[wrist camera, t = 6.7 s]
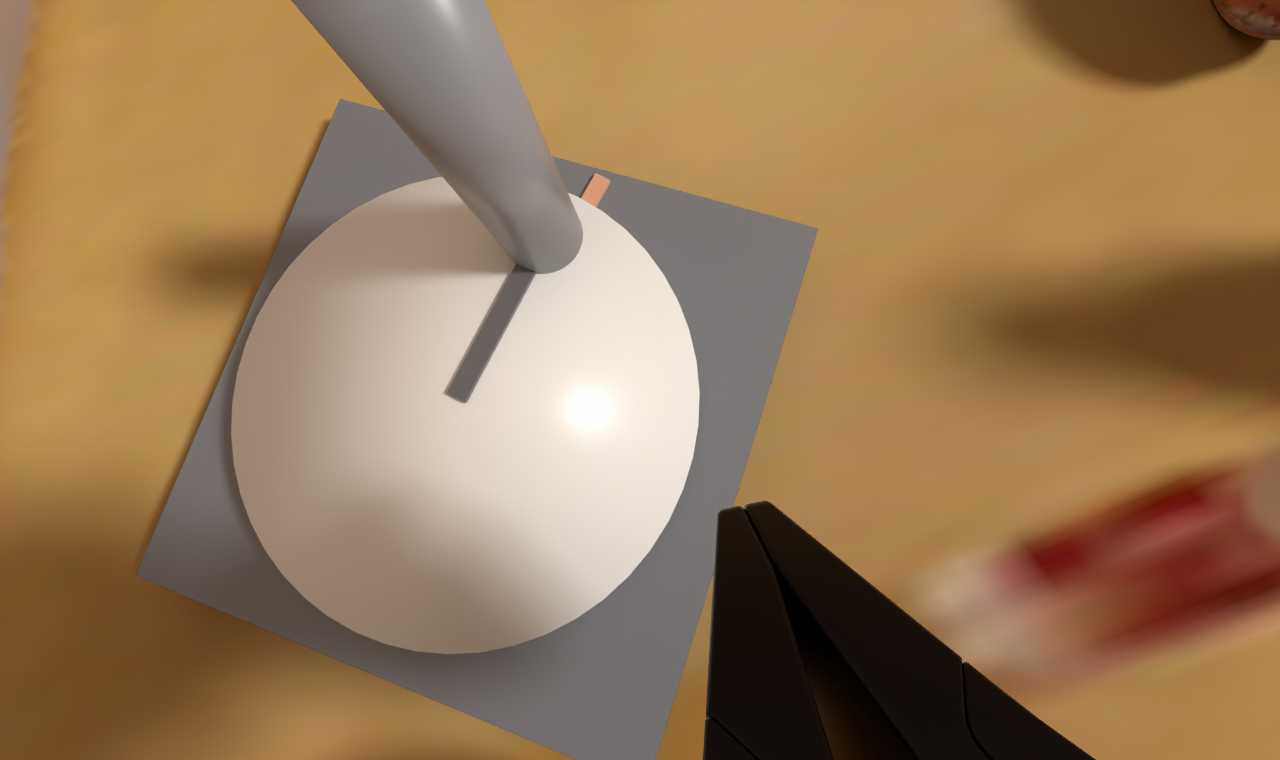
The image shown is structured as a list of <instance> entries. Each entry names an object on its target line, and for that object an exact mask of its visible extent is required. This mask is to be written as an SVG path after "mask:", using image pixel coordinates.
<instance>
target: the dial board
mask: <svg viewBox="0 0 1280 760" xmlns="http://www.w3.org/2000/svg"><path fill="white" fill-rule="evenodd" d="M552 157H553V156H552ZM553 160H554V162H555V164H556V167H557V169H558V171H559V173H560V176H561V178H562V180H563V183H564V185H565V187H566V189H567V192H568V193H570V194H573V195H575V196H577V197H579V198H581V199H583V200H584V201H586V202H588V203H589V204H591V205H593V206H595V207H596V208H598V209H600V210H601V211H603V212H604V213H605V214H607V215H608V216H609V217H611V218H612V219H613V220H614V221H616V222H617V223H618V224H620V225H621V226H622V227H623V228H625V229H626V230H627V231H628V232H629V233H630V234H631V235H632V236H633V237H634V238H635V239H636V241H637V242H638V243H639V244H640V245H641V246H642V247H643V248H644V249H645V250H646V251H647V252H648V254H649V255H650V256H651V258H652V259H653V260H654V262H655V263H656V265H657V266H658V267H659V269H660V270H661V271H662V273H663V274H664V276H665V278H666V279H667V281H668V283H669V285H670V287H671V289H672V290H673V292H674V294H675V296H676V298H677V300H678V302H679V304H680V307H681V309H682V312H683V315H684V317H685V320H686V323H687V325H688V328H689V331H690V335H691V339H692V344H693V348H694V352H695V356H696V361H697V371H698V381H699V392H700V395H699V423H698V431H697V436H696V442H695V448H694V454H693V459H692V462H691V466H690V469H689V472H688V475H687V479H686V482H685V485H684V488H683V491H682V493H681V495H680V498H679V500H678V502H677V504H676V506H675V508H674V511H673V513H672V515H671V517H670V519H669V521H668V523H667V525H666V526H665V528H664V529H663V531H662V533H661V534H660V536H659V537H658V539H657V541H656V542H655V544H654V545H653V547H652V548H651V550H650V551H649V552H648V554H647V555H646V556H645V557H644V558H643V560H642V561H641V562H640V563H639V564H638V566H637V567H636V568H635V569H634V570H633V572H632V573H631V574H630V575H629V576H628V577H627V578H626V579H625V580H624V581H623V582H622V583H621V584H620V585H619V586H618V587H617V588H615V589H614V590H613V591H612V592H611V593H610V594H609V595H608V596H607V597H606V598H605V599H604V600H602V601H601V602H599V603H598V604H596V605H595V606H594V607H592V608H591V609H589V610H588V611H586V612H585V613H584V614H582V615H581V616H579V617H578V618H576V619H575V620H573V621H571V622H569V623H567V624H565V625H563V626H561V627H559V628H557V629H555V630H554V631H552V632H550V633H548V634H546V635H543V636H540V637H537V638H535V639H532V640H529V641H526V642H523V643H520V644H518V645H515V646H510V647H505V648H500V649H495V650H491V651H486V652H479V653H461V654H440V653H428V652H417V651H412V650H408V649H404V648H400V647H395V646H391V645H387V644H384V643H381V642H378V641H376V640H373V639H371V638H368V637H366V636H363V635H361V634H358V633H356V632H354V631H352V630H351V629H349V628H347V627H345V626H344V625H342V624H340V623H338V622H337V621H335V620H333V619H331V618H330V617H328V616H327V615H326V614H324V613H323V612H322V611H321V610H319V609H318V608H317V607H315V606H314V605H313V604H312V603H310V602H309V601H308V600H307V599H305V598H304V597H303V596H302V595H301V594H300V593H299V592H298V591H297V590H296V589H295V587H294V586H293V585H292V584H291V583H290V582H289V581H288V580H287V579H286V578H285V577H284V576H283V575H282V573H281V572H280V571H279V569H278V568H277V566H276V565H275V564H274V562H273V561H272V559H271V558H270V556H269V555H268V554H267V552H266V551H265V549H264V547H263V545H262V544H261V542H260V540H259V538H258V536H257V534H256V532H255V530H254V528H253V526H252V524H251V522H250V520H249V517H248V514H247V511H246V508H245V506H244V503H243V500H242V497H241V495H240V490H239V486H238V481H237V477H236V472H235V468H234V461H233V450H232V438H231V424H232V402H233V396H234V389H235V383H236V377H237V372H238V368H239V365H240V361H241V358H242V354H243V351H244V347H245V344H246V342H247V339H248V337H249V334H250V332H251V330H252V327H253V325H254V322H255V320H256V318H257V316H258V314H259V312H260V310H261V308H262V307H263V305H264V303H265V301H266V300H267V298H268V296H269V294H270V292H271V291H272V289H273V288H274V286H275V285H276V284H277V282H278V281H279V279H280V278H281V277H282V275H283V274H284V273H285V271H286V270H287V268H288V267H289V266H290V265H291V264H292V262H293V261H294V260H295V259H296V258H297V257H298V256H299V255H300V254H301V253H302V252H303V250H304V249H305V248H306V247H307V246H308V245H309V244H310V243H311V242H312V241H313V240H315V239H316V238H317V237H318V236H319V235H320V234H322V233H323V232H324V231H325V230H326V229H327V228H328V227H330V226H331V225H332V224H333V223H335V222H336V221H338V220H339V219H341V218H342V217H344V216H345V215H347V214H348V213H350V212H351V211H353V210H354V209H355V208H357V207H359V206H361V205H363V204H365V203H367V202H369V201H371V200H373V199H374V198H376V197H378V196H380V195H382V194H385V193H387V192H390V191H393V190H395V189H398V188H401V187H403V186H406V185H409V184H412V183H416V182H420V181H424V180H428V179H432V178H437V177H442V176H441V175H440V173H439V172H438V171H437V170H436V169H435V168H434V166H433V165H432V164H431V163H430V162H429V161H428V159H427V158H426V157H425V156H424V155H423V154H422V152H421V151H420V150H419V149H418V148H417V147H416V145H415V144H414V143H413V142H412V141H411V140H410V138H409V137H408V136H407V135H406V134H405V133H404V131H403V130H402V129H401V128H400V127H399V126H398V124H397V123H396V122H395V121H394V120H393V119H392V117H391V116H390V115H389V114H388V113H387V112H386V111H383V110H379V109H376V108H372V107H368V106H365V105H361V104H357V103H354V102H350V101H346V100H343V99H340V100H339V102H338V105H337V107H336V109H335V112H334V114H333V116H332V119H331V121H330V123H329V126H328V128H327V130H326V133H325V135H324V137H323V140H322V142H321V144H320V147H319V149H318V151H317V154H316V156H315V158H314V161H313V163H312V165H311V168H310V170H309V172H308V175H307V177H306V179H305V182H304V184H303V186H302V189H301V191H300V193H299V196H298V198H297V200H296V203H295V205H294V207H293V210H292V212H291V214H290V217H289V219H288V221H287V224H286V226H285V228H284V231H283V233H282V235H281V238H280V240H279V242H278V245H277V247H276V249H275V252H274V254H273V256H272V259H271V261H270V263H269V266H268V268H267V270H266V273H265V275H264V277H263V280H262V282H261V284H260V287H259V289H258V291H257V293H256V296H255V298H254V300H253V303H252V305H251V307H250V310H249V312H248V314H247V317H246V319H245V321H244V324H243V326H242V328H241V331H240V333H239V335H238V338H237V340H236V342H235V345H234V347H233V349H232V352H231V354H230V356H229V359H228V361H227V363H226V366H225V368H224V370H223V373H222V375H221V377H220V380H219V382H218V384H217V387H216V389H215V391H214V394H213V396H212V398H211V401H210V403H209V405H208V408H207V410H206V412H205V415H204V417H203V419H202V422H201V424H200V426H199V429H198V431H197V433H196V436H195V438H194V440H193V443H192V445H191V447H190V450H189V452H188V454H187V457H186V459H185V461H184V464H183V466H182V468H181V471H180V473H179V475H178V478H177V480H176V482H175V485H174V487H173V489H172V492H171V494H170V496H169V499H168V501H167V503H166V506H165V508H164V510H163V513H162V515H161V517H160V520H159V522H158V524H157V527H156V529H155V531H154V534H153V536H152V538H151V541H150V543H149V545H148V548H147V550H146V552H145V554H144V557H143V559H142V561H141V564H140V566H139V568H138V571H137V573H136V575H135V576H138V577H140V578H142V579H145V580H147V581H150V582H152V583H154V584H157V585H159V586H162V587H164V588H166V589H169V590H171V591H174V592H176V593H178V594H181V595H183V596H186V597H188V598H190V599H193V600H195V601H198V602H200V603H202V604H205V605H207V606H209V607H212V608H214V609H217V610H219V611H221V612H224V613H226V614H229V615H231V616H233V617H236V618H238V619H241V620H243V621H245V622H248V623H250V624H253V625H255V626H257V627H260V628H262V629H265V630H267V631H269V632H272V633H274V634H277V635H279V636H281V637H284V638H286V639H289V640H291V641H293V642H296V643H298V644H301V645H303V646H305V647H308V648H310V649H313V650H315V651H317V652H320V653H322V654H325V655H327V656H329V657H332V658H334V659H337V660H339V661H341V662H344V663H346V664H348V665H351V666H353V667H356V668H358V669H360V670H363V671H365V672H368V673H370V674H372V675H375V676H377V677H380V678H382V679H384V680H387V681H389V682H392V683H394V684H396V685H399V686H401V687H404V688H406V689H408V690H411V691H413V692H416V693H418V694H420V695H423V696H425V697H428V698H430V699H432V700H435V701H437V702H440V703H442V704H444V705H447V706H449V707H452V708H454V709H456V710H459V711H461V712H464V713H466V714H468V715H471V716H473V717H476V718H478V719H480V720H483V721H485V722H488V723H490V724H492V725H495V726H497V727H499V728H502V729H504V730H507V731H509V732H511V733H514V734H516V735H519V736H521V737H523V738H526V739H528V740H531V741H533V742H535V743H538V744H540V745H543V746H545V747H547V748H550V749H552V750H555V751H557V752H559V753H562V754H564V755H567V756H569V757H571V758H574V759H576V760H656V758H657V754H658V751H659V748H660V745H661V741H662V738H663V735H664V731H665V728H666V725H667V722H668V718H669V715H670V712H671V709H672V705H673V702H674V699H675V695H676V692H677V689H678V686H679V682H680V679H681V676H682V673H683V669H684V666H685V663H686V659H687V656H688V653H689V650H690V646H691V643H692V640H693V636H694V633H695V630H696V627H697V623H698V620H699V617H700V614H701V610H702V607H703V604H704V600H705V597H706V594H707V591H708V587H709V584H710V581H711V578H712V574H713V571H714V559H715V540H716V522H717V512H718V511H719V510H721V509H726V508H731V507H733V506H734V502H735V499H736V496H737V492H738V489H739V486H740V483H741V479H742V476H743V473H744V469H745V466H746V463H747V460H748V456H749V453H750V450H751V447H752V443H753V440H754V437H755V433H756V430H757V427H758V424H759V420H760V417H761V414H762V411H763V407H764V404H765V401H766V397H767V394H768V391H769V388H770V384H771V381H772V378H773V375H774V371H775V368H776V365H777V361H778V358H779V355H780V352H781V348H782V345H783V342H784V338H785V335H786V332H787V329H788V325H789V322H790V319H791V316H792V312H793V309H794V306H795V302H796V299H797V296H798V293H799V289H800V286H801V283H802V280H803V276H804V273H805V270H806V266H807V263H808V260H809V257H810V253H811V250H812V247H813V244H814V240H815V237H816V234H817V230H818V228H814V227H810V226H807V225H803V224H799V223H796V222H792V221H788V220H785V219H781V218H777V217H773V216H770V215H766V214H762V213H759V212H755V211H751V210H748V209H744V208H740V207H737V206H733V205H729V204H726V203H722V202H718V201H715V200H711V199H707V198H704V197H700V196H696V195H692V194H689V193H685V192H681V191H678V190H674V189H670V188H667V187H663V186H659V185H656V184H652V183H648V182H645V181H641V180H637V179H634V178H630V177H626V176H622V175H619V174H615V173H611V172H608V171H604V170H600V169H597V168H593V167H589V166H586V165H582V164H578V163H575V162H571V161H567V160H564V159H560V158H556V157H553Z"/></svg>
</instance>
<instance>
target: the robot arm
mask: <svg viewBox="0 0 1280 760" xmlns="http://www.w3.org/2000/svg"><path fill="white" fill-rule="evenodd" d="M706 718H707V719H706V720H705V734H704V752H703V760H1096V759H1094V758H1093V757H1091V756H1090V755H1088V754H1087V753H1086V752H1084V751H1083V750H1081V749H1080V748H1079V747H1077V746H1076V745H1075V744H1073V743H1072V742H1070V741H1069V740H1068V739H1066V738H1065V737H1063V736H1062V735H1061V734H1059V733H1058V732H1056V731H1055V730H1054V729H1052V728H1051V727H1050V726H1048V725H1047V724H1045V723H1044V722H1043V721H1041V720H1040V719H1038V718H1037V717H1036V716H1035V715H1033V714H1032V713H1031V712H1029V711H1028V710H1027V709H1026V708H1024V707H1023V706H1022V705H1020V704H1019V703H1018V702H1017V701H1015V700H1014V699H1013V698H1012V697H1010V696H1009V695H1008V694H1006V693H1005V692H1004V691H1003V690H1001V689H1000V688H999V687H997V686H996V685H995V684H994V683H992V682H991V681H990V680H989V679H987V678H986V677H985V676H984V675H982V674H981V673H980V672H979V671H978V670H976V669H975V668H974V667H973V666H971V665H970V664H969V663H967V662H964V663H963V664H962V658H961V657H960V656H959V655H958V654H956V653H955V652H954V651H953V650H951V649H950V648H949V647H948V646H946V645H945V644H944V643H943V642H942V641H940V640H939V639H938V638H937V637H935V636H934V635H933V634H932V633H930V632H929V631H928V630H927V629H926V628H924V627H923V626H922V625H921V624H919V623H918V622H917V621H916V620H914V619H913V618H912V617H911V616H909V615H908V614H907V613H906V612H905V611H903V610H902V609H901V608H900V607H898V606H897V605H896V604H895V603H893V602H892V601H891V600H890V599H889V598H887V597H886V596H885V595H884V594H882V593H881V592H880V591H879V590H877V589H876V588H875V587H874V586H873V585H871V584H870V583H869V582H868V581H866V580H865V579H864V578H863V577H861V576H860V575H859V574H858V573H857V572H855V571H854V570H853V569H852V568H850V567H849V566H848V565H847V564H845V563H844V562H843V561H842V560H840V559H839V558H838V557H837V556H836V555H834V554H833V553H832V552H831V551H829V550H828V549H827V548H826V547H824V546H823V545H822V544H821V543H820V542H818V541H817V540H816V539H815V538H813V537H812V536H811V535H810V534H808V533H807V532H806V531H805V530H804V529H802V528H801V527H800V526H799V525H797V524H796V523H795V522H794V521H792V520H791V519H790V518H789V517H788V516H786V515H785V514H784V513H783V512H781V511H780V510H779V509H778V508H776V507H775V506H774V505H773V504H771V503H770V502H767V501H762V502H757V503H751V504H747V505H745V506H744V507H743V508H742V507H740V506H736V507H731V508H726V509H721V510H719V511H718V512H717V522H716V540H715V559H714V577H713V595H712V613H711V631H710V649H709V667H708V685H707V704H706Z"/></svg>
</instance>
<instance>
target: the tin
mask: <svg viewBox="0 0 1280 760" xmlns="http://www.w3.org/2000/svg"><path fill="white" fill-rule="evenodd" d="M1212 1H1213V3H1214V4H1215V6H1216V8H1217V10H1218V11H1219V13H1220V15H1221V16H1222V17H1223V18H1224V19H1225V20H1226V22H1227V23H1229V24H1230V25H1231V26H1232V27H1234V28H1235V29H1237V30H1239V31H1240V32H1242V33H1245V34H1247V35H1250V36H1253V37H1257V38H1262V39H1267V40H1280V0H1212Z"/></svg>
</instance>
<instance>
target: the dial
mask: <svg viewBox="0 0 1280 760" xmlns="http://www.w3.org/2000/svg"><path fill="white" fill-rule="evenodd" d="M291 1H292V2H293V3H294V4H295V5H296V6H297V8H298V9H299V10H300V11H301V12H302V13H303V15H304V16H305V17H306V18H307V19H308V21H309V22H310V23H311V24H312V25H313V26H314V28H315V29H316V30H317V31H318V32H319V33H320V35H321V36H322V37H323V38H324V39H325V40H326V42H327V43H328V44H329V45H330V46H331V47H332V49H333V50H334V51H335V52H336V53H337V54H338V56H339V57H340V58H341V59H342V60H343V61H344V63H345V64H346V65H347V66H348V67H349V68H350V70H351V71H352V72H353V73H354V74H355V75H356V77H357V78H358V79H359V80H360V81H361V82H362V84H363V85H364V86H365V87H366V88H367V89H368V91H369V92H370V93H371V94H372V95H373V96H374V98H375V99H376V100H377V101H378V102H379V103H380V105H381V106H382V107H383V108H384V109H385V110H386V112H387V113H388V114H389V115H390V116H391V117H392V119H393V120H394V121H395V122H396V123H397V124H398V126H399V127H400V128H401V129H402V130H403V131H404V133H405V134H406V135H407V136H408V137H409V138H410V140H411V141H412V142H413V143H414V144H415V145H416V147H417V148H418V149H419V150H420V151H421V152H422V154H423V155H424V156H425V157H426V158H427V159H428V161H429V162H430V163H431V164H432V165H433V166H434V168H435V169H436V170H437V171H438V172H439V173H440V175H441V176H442V177H437V178H432V179H428V180H424V181H420V182H416V183H412V184H409V185H406V186H403V187H401V188H398V189H395V190H393V191H390V192H387V193H385V194H382V195H380V196H378V197H376V198H374V199H373V200H371V201H369V202H367V203H365V204H363V205H361V206H359V207H357V208H355V209H354V210H353V211H351V212H350V213H348V214H347V215H345V216H344V217H342V218H341V219H339V220H338V221H336V222H335V223H333V224H332V225H331V226H330V227H328V228H327V229H326V230H325V231H324V232H323V233H322V234H320V235H319V236H318V237H317V238H316V239H315V240H313V241H312V242H311V243H310V244H309V245H308V246H307V247H306V248H305V249H304V250H303V252H302V253H301V254H300V255H299V256H298V257H297V258H296V259H295V260H294V261H293V262H292V264H291V265H290V266H289V267H288V268H287V270H286V271H285V273H284V274H283V275H282V277H281V278H280V279H279V281H278V282H277V284H276V285H275V286H274V288H273V289H272V291H271V292H270V294H269V296H268V298H267V300H266V301H265V303H264V305H263V307H262V308H261V310H260V312H259V314H258V316H257V318H256V320H255V322H254V325H253V327H252V330H251V332H250V334H249V337H248V339H247V342H246V344H245V347H244V351H243V354H242V358H241V361H240V365H239V368H238V372H237V377H236V383H235V389H234V396H233V402H232V424H231V438H232V450H233V461H234V468H235V472H236V477H237V481H238V486H239V490H240V495H241V497H242V500H243V503H244V506H245V508H246V511H247V514H248V517H249V520H250V522H251V524H252V526H253V528H254V530H255V532H256V534H257V536H258V538H259V540H260V542H261V544H262V545H263V547H264V549H265V551H266V552H267V554H268V555H269V556H270V558H271V559H272V561H273V562H274V564H275V565H276V566H277V568H278V569H279V571H280V572H281V573H282V575H283V576H284V577H285V578H286V579H287V580H288V581H289V582H290V583H291V584H292V585H293V586H294V587H295V589H296V590H297V591H298V592H299V593H300V594H301V595H302V596H303V597H304V598H305V599H307V600H308V601H309V602H310V603H312V604H313V605H314V606H315V607H317V608H318V609H319V610H321V611H322V612H323V613H324V614H326V615H327V616H328V617H330V618H331V619H333V620H335V621H337V622H338V623H340V624H342V625H344V626H345V627H347V628H349V629H351V630H352V631H354V632H356V633H358V634H361V635H363V636H366V637H368V638H371V639H373V640H376V641H378V642H381V643H384V644H387V645H391V646H395V647H400V648H404V649H408V650H412V651H417V652H428V653H440V654H461V653H479V652H486V651H491V650H495V649H500V648H505V647H510V646H515V645H518V644H520V643H523V642H526V641H529V640H532V639H535V638H537V637H540V636H543V635H546V634H548V633H550V632H552V631H554V630H555V629H557V628H559V627H561V626H563V625H565V624H567V623H569V622H571V621H573V620H575V619H576V618H578V617H579V616H581V615H582V614H584V613H585V612H586V611H588V610H589V609H591V608H592V607H594V606H595V605H596V604H598V603H599V602H601V601H602V600H604V599H605V598H606V597H607V596H608V595H609V594H610V593H611V592H612V591H613V590H614V589H615V588H617V587H618V586H619V585H620V584H621V583H622V582H623V581H624V580H625V579H626V578H627V577H628V576H629V575H630V574H631V573H632V572H633V570H634V569H635V568H636V567H637V566H638V564H639V563H640V562H641V561H642V560H643V558H644V557H645V556H646V555H647V554H648V552H649V551H650V550H651V548H652V547H653V545H654V544H655V542H656V541H657V539H658V537H659V536H660V534H661V533H662V531H663V529H664V528H665V526H666V525H667V523H668V521H669V519H670V517H671V515H672V513H673V511H674V508H675V506H676V504H677V502H678V500H679V498H680V495H681V493H682V491H683V488H684V485H685V482H686V479H687V475H688V472H689V469H690V466H691V462H692V459H693V454H694V448H695V442H696V436H697V431H698V423H699V395H700V392H699V381H698V371H697V361H696V356H695V352H694V348H693V344H692V339H691V335H690V331H689V328H688V325H687V323H686V320H685V317H684V315H683V312H682V309H681V307H680V304H679V302H678V300H677V298H676V296H675V294H674V292H673V290H672V289H671V287H670V285H669V283H668V281H667V279H666V278H665V276H664V274H663V273H662V271H661V270H660V269H659V267H658V266H657V265H656V263H655V262H654V260H653V259H652V258H651V256H650V255H649V254H648V252H647V251H646V250H645V249H644V248H643V247H642V246H641V245H640V244H639V243H638V242H637V241H636V239H635V238H634V237H633V236H632V235H631V234H630V233H629V232H628V231H627V230H626V229H625V228H623V227H622V226H621V225H620V224H618V223H617V222H616V221H614V220H613V219H612V218H611V217H609V216H608V215H607V214H605V213H604V212H603V211H601V210H600V209H598V208H596V207H595V206H593V205H591V204H589V203H588V202H586V201H584V200H583V199H581V198H579V197H577V196H575V195H573V194H570V193H568V192H567V189H566V187H565V185H564V183H563V180H562V178H561V176H560V173H559V171H558V169H557V167H556V164H555V162H554V160H553V157H552V155H551V153H550V150H549V148H548V146H547V144H546V141H545V139H544V137H543V134H542V132H541V130H540V127H539V125H538V123H537V121H536V118H535V116H534V114H533V111H532V109H531V107H530V104H529V102H528V100H527V98H526V95H525V93H524V91H523V88H522V86H521V84H520V81H519V79H518V77H517V75H516V72H515V70H514V68H513V65H512V63H511V61H510V58H509V56H508V54H507V52H506V49H505V47H504V45H503V42H502V40H501V38H500V35H499V33H498V31H497V29H496V26H495V24H494V22H493V19H492V17H491V15H490V12H489V10H488V8H487V6H486V3H485V1H484V0H291Z"/></svg>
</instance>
